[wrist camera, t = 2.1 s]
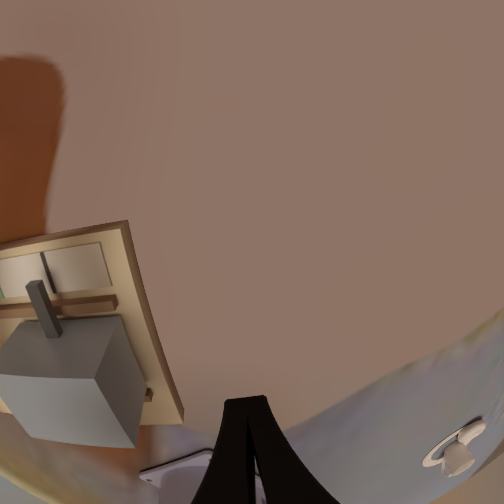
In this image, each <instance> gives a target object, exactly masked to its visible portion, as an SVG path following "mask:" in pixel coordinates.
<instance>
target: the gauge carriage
mask: <svg viewBox="0 0 504 504" xmlns="http://www.w3.org/2000/svg"><path fill="white" fill-rule="evenodd" d="M25 288H26V290H27V293H28V295H29V298H30V300H31V303H32V305H33V308H34V310H35V312H36V315H37V317H38V319H39V322H21V323H20V324H19V325H18V326H17V327H16V329H15V330H14V331H13V333H12V334H11V335H10V337H9V338H8V339H7V341H6V342H5V343H4V345H3V346H2V347H1V349H0V397H1V399H2V400H3V402H4V403H5V404H6V406H7V407H8V408H9V410H10V411H11V413H12V414H13V415H14V416H15V418H16V419H17V420H18V422H19V423H20V424H21V425H22V427H23V428H24V429H25V430H26V432H27V433H28V434H29V435H30V437H34V438H39V439H45V440H51V441H58V442H65V443H72V444H81V445H91V446H102V447H117V448H136V443H137V437H138V431H139V425H140V420H141V414H142V409H143V404H144V399H145V393H146V388H147V385H146V383H145V380H144V378H143V376H142V373H141V371H140V368H139V366H138V363H137V361H136V358H135V356H134V353H133V351H132V348H131V346H130V343H129V340H128V338H127V335H126V332H125V330H124V327H123V324H122V321H121V318H120V316H116V317H104V318H90V319H76V320H60V321H58V318H57V316H56V313H55V311H54V309H53V306H52V304H51V301H50V298H49V296H48V293H47V291H46V288H45V285H44V282H43V280H42V279H41V280H33V281H30V282H29V283H28V284H27V285H26V286H25Z"/></svg>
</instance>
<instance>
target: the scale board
mask: <svg viewBox="0 0 504 504" xmlns="http://www.w3.org/2000/svg"><path fill="white" fill-rule="evenodd" d="M41 279H42V280H43V282H44V285H45V288H46V291H47V293H48V296H49V298H50V301H51V304H52V306H53V309H54V311H55V313H56V316H57V318H58V321H60V320H76V319H90V318H104V317H116V316H120V318H121V321H122V324H123V327H124V330H125V332H126V335H127V338H128V340H129V343H130V346H131V348H132V351H133V353H134V356H135V358H136V361H137V363H138V366H139V368H140V371H141V373H142V376H143V378H144V380H145V383H146V385H147V388H146V393H145V399H144V404H143V409H142V414H141V420H140V425H169V424H183V419H184V417H183V416H184V408H183V405H182V403H181V400H180V397H179V395H178V392H177V389H176V386H175V384H174V381H173V378H172V375H171V373H170V370H169V367H168V364H167V361H166V358H165V355H164V352H163V349H162V346H161V343H160V340H159V337H158V334H157V330H156V327H155V324H154V320H153V317H152V314H151V310H150V307H149V303H148V300H147V296H146V293H145V289H144V285H143V282H142V278H141V274H140V270H139V266H138V262H137V258H136V254H135V250H134V246H133V242H132V237H131V232H130V228H129V223H128V220H124V221H118V222H112V223H106V224H100V225H94V226H89V227H83V228H78V229H73V230H67V231H62V232H57V233H52V234H47V235H42V236H37V237H32V238H27V239H22V240H18V241H13V242H8V243H4V244H0V349H1V347H2V346H3V345H4V343H5V342H6V341H7V339H8V338H9V337H10V335H11V334H12V333H13V331H14V330H15V329H16V327H17V326H18V325H19V324H20V323H21V322H39V319H38V317H37V315H36V312H35V310H34V308H33V305H32V303H31V300H30V298H29V295H28V293H27V290H26V288H25V286H26V285H27V284H28V283H29V282H30V281H33V280H41ZM0 412H5V413H10V414H12V413H11V411H10V410H9V408H8V407H7V406H6V404H5V403H4V402H3V400H2V399H1V397H0Z"/></svg>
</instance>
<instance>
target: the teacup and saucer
mask: <svg viewBox="0 0 504 504" xmlns="http://www.w3.org/2000/svg"><path fill="white" fill-rule="evenodd" d="M485 427H486V423H485V422H484V421H483V420H479V421H476V422H474V423H472V424H470V425H467V426H465V427H463V428H461V429H459V430H457V431H456V432H454V433H453V434H451V435H450V436H448V437H447V438H445V439H444V440H443V441H441V442H440V443H439V444H438V445H437V446H435V447H434V448H433V449H432V450H431V451H430V452H429V453H428V454H427V455H426V457H425V458H424V460H423V462H422V465H423V466H425V467H429V466H433V465H436V464H439V463H441V462H442V473H443V475H444V476H445V477H450V476H455V475H458V474H460V473H461V472H463V471H465V470H466V469H467V468H469V467H470V466H471V465H472V464H473V463H474V462H475V458H474V457H473V455H472V454H471V452H470V451H469V450H468V448H467V447H466V445H467V444H468V443H469V442H470V441H471V440H472V439H473V438H474V437H476V436H478V435H479V434H480V433H481V432H482V431H483V430H484V429H485ZM458 433H459V434H458ZM457 434H458V439H457V441H454V442H452V443H451V444H450V445H448V446H447V447H446V448H445V449H444V457H443V458H441V459H438V460H431V456H432V454H433V453H434V452H435V451H436V450H437V449H438V448H439V447H440V446H441V445H442V444H443V443H445V442H446V441H447V440H449V439H450V438H452V437H453V436H455V435H457ZM463 442H464V443H463ZM445 462H446V463H447V465H448V467H449V469H450V475H449V476H448V475H446V473H445Z"/></svg>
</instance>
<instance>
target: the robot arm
mask: <svg viewBox="0 0 504 504" xmlns="http://www.w3.org/2000/svg"><path fill="white" fill-rule="evenodd" d="M254 455H255V457H254ZM255 459H256V463H257V467H258V471H259V475H260V477H259V476H257V475H255ZM139 478H140V479H142V480H144V481H146V482H148V483H150V484H152V485H154V486H156V487H158V488H160V496H159V504H340V503H339V502H338V501H337V500H336V499H335V498H334V497H332V496H331V495H330V494H329V493H328V492H327V490H326V489H325V488H324V487H323V486H322V485H321V484H320V483H319V482H318V481H317V480H316V479H315V478H314V476H313V475H312V474H311V473H310V472H309V470H308V469H307V468H306V467H305V465H304V464H303V463H302V461H301V460H300V459H299V457H298V456H297V455H296V453H295V452H294V450H293V449H292V447H291V446H290V444H289V443H288V441H287V440H286V438H285V436H284V435H283V433H282V431H281V430H280V428H279V426H278V424H277V422H276V421H275V418H274V416H273V414H272V412H271V409H270V407H269V404H268V401H267V398H266V396H264V395H259V396H252V397H245V398H235V399H227V400H226V401H225V402H224V411H223V417H222V423H221V427H220V431H219V435H218V438H217V441H216V445H215V448H214V451H213V452H212V451H202V452H200V453H197V454H194V455H192V456H189V457H186V458H183V459H181V460H178V461H175V462H172V463H169V464H166V465H163V466H160V467H157V468H154V469H150V470H147V471H144V472H141V473H139Z"/></svg>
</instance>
